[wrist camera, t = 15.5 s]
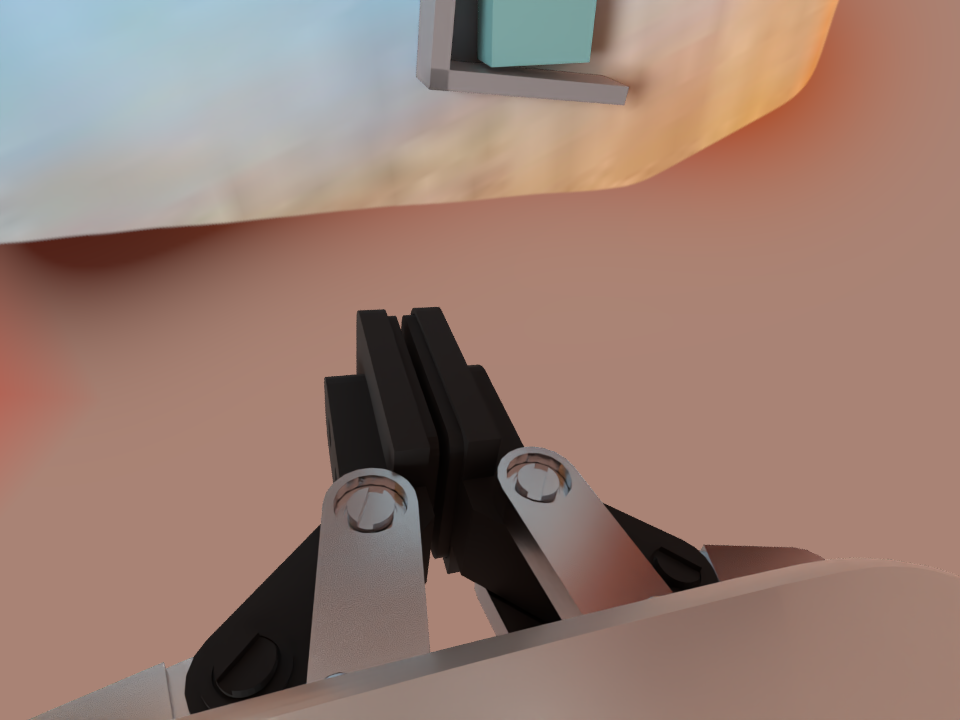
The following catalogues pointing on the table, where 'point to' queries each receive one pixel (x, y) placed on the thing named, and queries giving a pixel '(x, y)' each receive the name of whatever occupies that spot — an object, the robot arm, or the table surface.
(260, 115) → the table surface
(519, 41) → the teal square block
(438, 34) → the box
